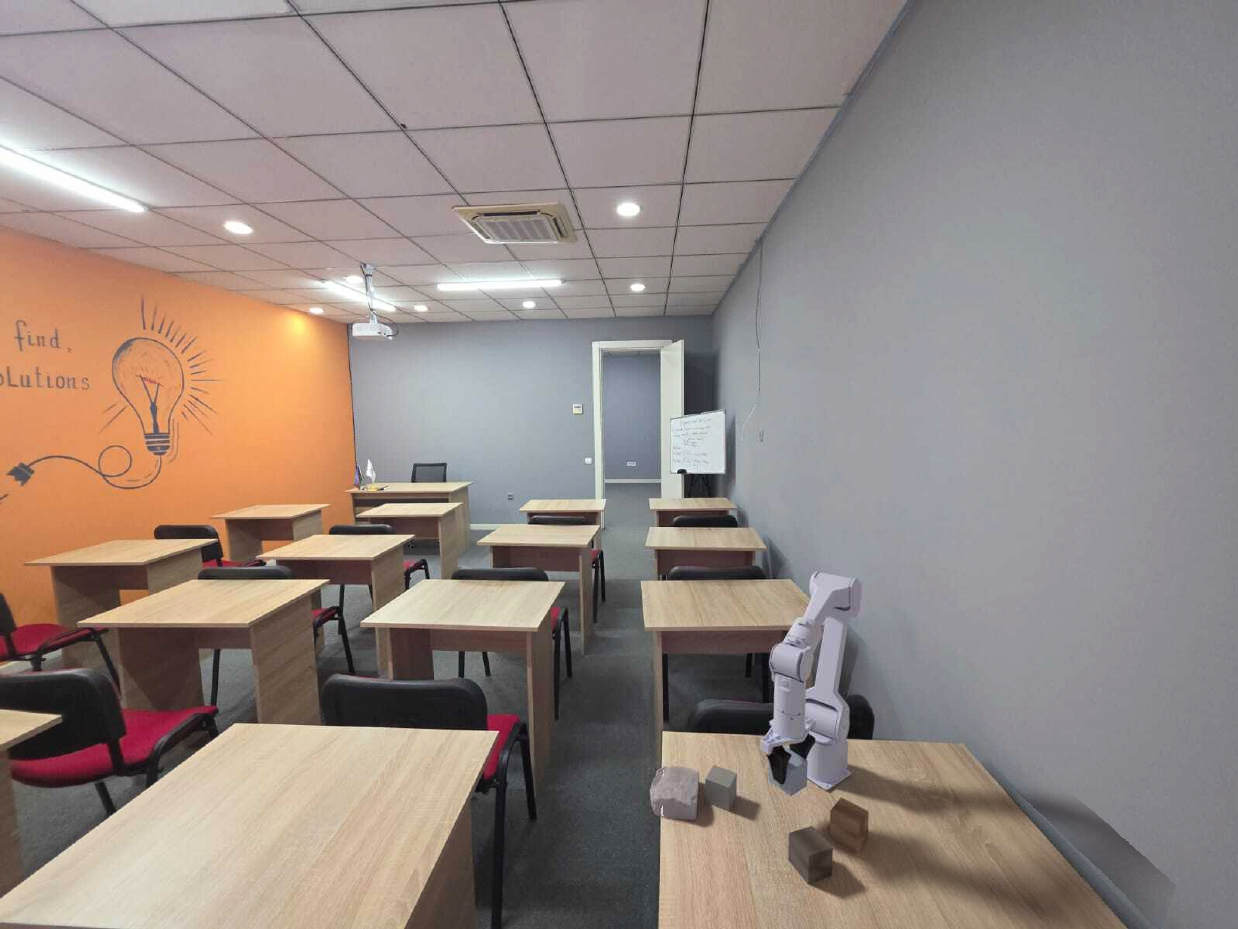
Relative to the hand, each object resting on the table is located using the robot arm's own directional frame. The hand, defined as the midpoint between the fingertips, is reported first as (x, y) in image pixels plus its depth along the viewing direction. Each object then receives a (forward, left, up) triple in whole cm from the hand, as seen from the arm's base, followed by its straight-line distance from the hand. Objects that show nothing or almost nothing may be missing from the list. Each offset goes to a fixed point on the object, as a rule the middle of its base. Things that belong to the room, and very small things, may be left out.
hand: (787, 775), depth 94 cm
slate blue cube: (0, 0, -2) cm, 2 cm away
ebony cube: (+6, +9, -9) cm, 14 cm away
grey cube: (+7, -11, -9) cm, 16 cm away
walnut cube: (-6, +9, -9) cm, 14 cm away
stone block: (+15, -17, -9) cm, 24 cm away
